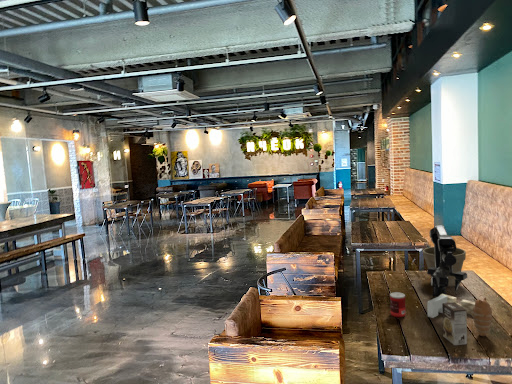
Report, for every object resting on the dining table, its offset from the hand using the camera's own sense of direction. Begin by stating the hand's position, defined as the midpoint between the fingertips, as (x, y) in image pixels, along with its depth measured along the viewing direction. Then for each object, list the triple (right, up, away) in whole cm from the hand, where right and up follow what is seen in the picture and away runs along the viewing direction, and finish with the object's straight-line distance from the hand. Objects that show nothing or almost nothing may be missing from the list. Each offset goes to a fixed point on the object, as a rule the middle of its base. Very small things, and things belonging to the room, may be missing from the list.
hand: (446, 289), depth 207 cm
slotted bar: (-5, -13, -1) cm, 14 cm away
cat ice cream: (+3, -15, -28) cm, 32 cm away
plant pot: (+20, -8, +44) cm, 49 cm away
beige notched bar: (+7, -12, +2) cm, 14 cm away
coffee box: (-12, -16, -30) cm, 36 cm away
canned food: (-26, -14, +1) cm, 29 cm away
